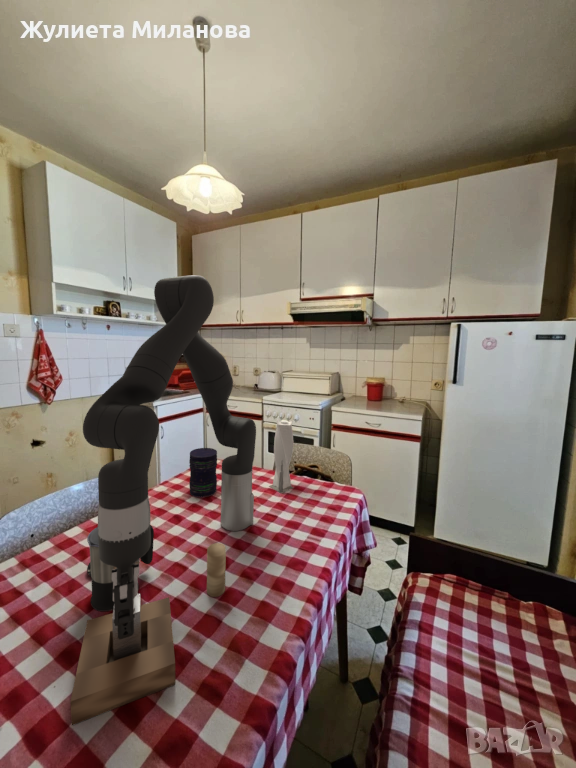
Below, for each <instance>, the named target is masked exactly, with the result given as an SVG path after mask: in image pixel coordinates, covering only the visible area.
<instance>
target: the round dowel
mask: <svg viewBox="0 0 576 768" xmlns="http://www.w3.org/2000/svg"><path fill="white" fill-rule="evenodd" d="M206 549H207V550H206V593H207V595H208V596H209V597H211V598H218V597H221V596H222V595H223V594H224V593H225V591H226V564H227V563H226V561H227V560H226V554H227V552H226V549H227V548H226V545H225V544H223V543H221V542H216V543H212V544H210V545H209V546H208V547H207V548H206Z"/></svg>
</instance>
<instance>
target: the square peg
mask: <svg viewBox="0 0 576 768" xmlns="http://www.w3.org/2000/svg"><path fill="white" fill-rule="evenodd" d="M141 605H142V604H141V593H138V594H137V595H136V597H135V598H134V608H135V612H134V614H135V618H134V634H133V635H132V636H129V637H126V638H123V639H119V638H118V626H115V624H114V619H115V612H114V609H113V610H112V613H113V618H112V626H113V654H114V661H116V660H119V659H122V658H125V657H128V656H131V655H134V654H137V653H140V652H141Z"/></svg>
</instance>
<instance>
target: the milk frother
mask: <svg viewBox="0 0 576 768" xmlns="http://www.w3.org/2000/svg"><path fill="white" fill-rule="evenodd" d="M150 528H151V545H150V548H149V550H148V551H147V553H146V554H145V555H144V556H142V557H141V558H140V561H141V562H142V563H144V564H145V565H150V564H151V563H152V562H153V556H154V555H153V554H154V537H155V536H154V535H155V533H154V527H153V526H152V524H150ZM86 540H87V543H88V546H89V560H90V561H89V562H88V565H87V568H86V572H87V575H88V576H90V577H91V578H90V579H91V596H90V605H91V607H92V608H93V609H94V610H95V611H98V612H109V611H110V612H111V611H113V609H114V601H113V581H112V569H114V568H113V566H111V565H107V564H104V563H103V562H102V561H101V560H100V558H99V541H98V526H97V527H95V528H93V529H92V530H91V531H90V532H89V533H88V535H87V539H86ZM117 585H118V584H117ZM139 589H140V584H139V582H138V590H139Z"/></svg>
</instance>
